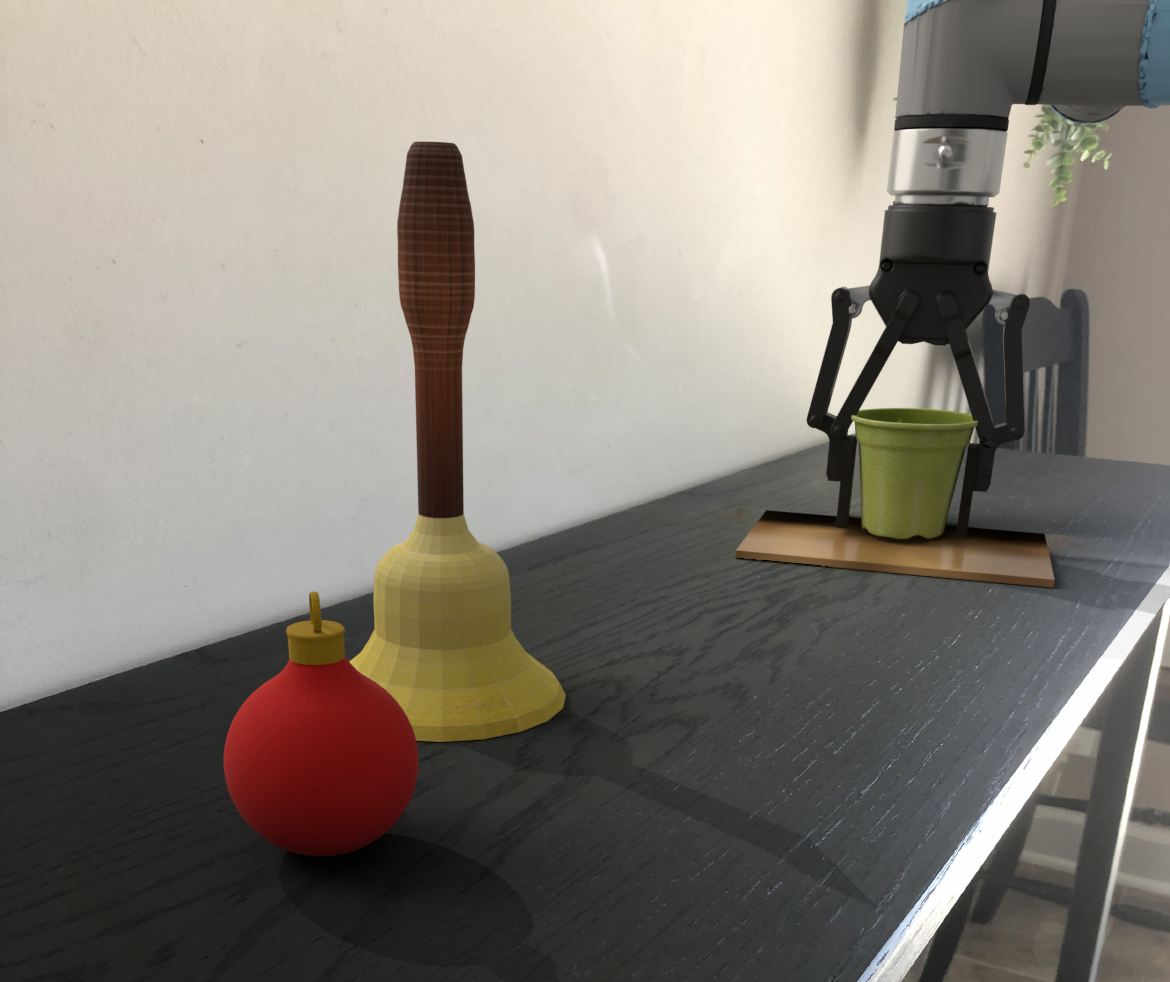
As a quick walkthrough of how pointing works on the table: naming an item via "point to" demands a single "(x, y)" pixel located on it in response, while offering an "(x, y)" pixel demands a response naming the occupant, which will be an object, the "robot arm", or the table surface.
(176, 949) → the table surface
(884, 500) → the plant pot
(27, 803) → the table surface
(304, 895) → the table surface
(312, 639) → the christmas ornament
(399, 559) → the handbell
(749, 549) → the wooden board
